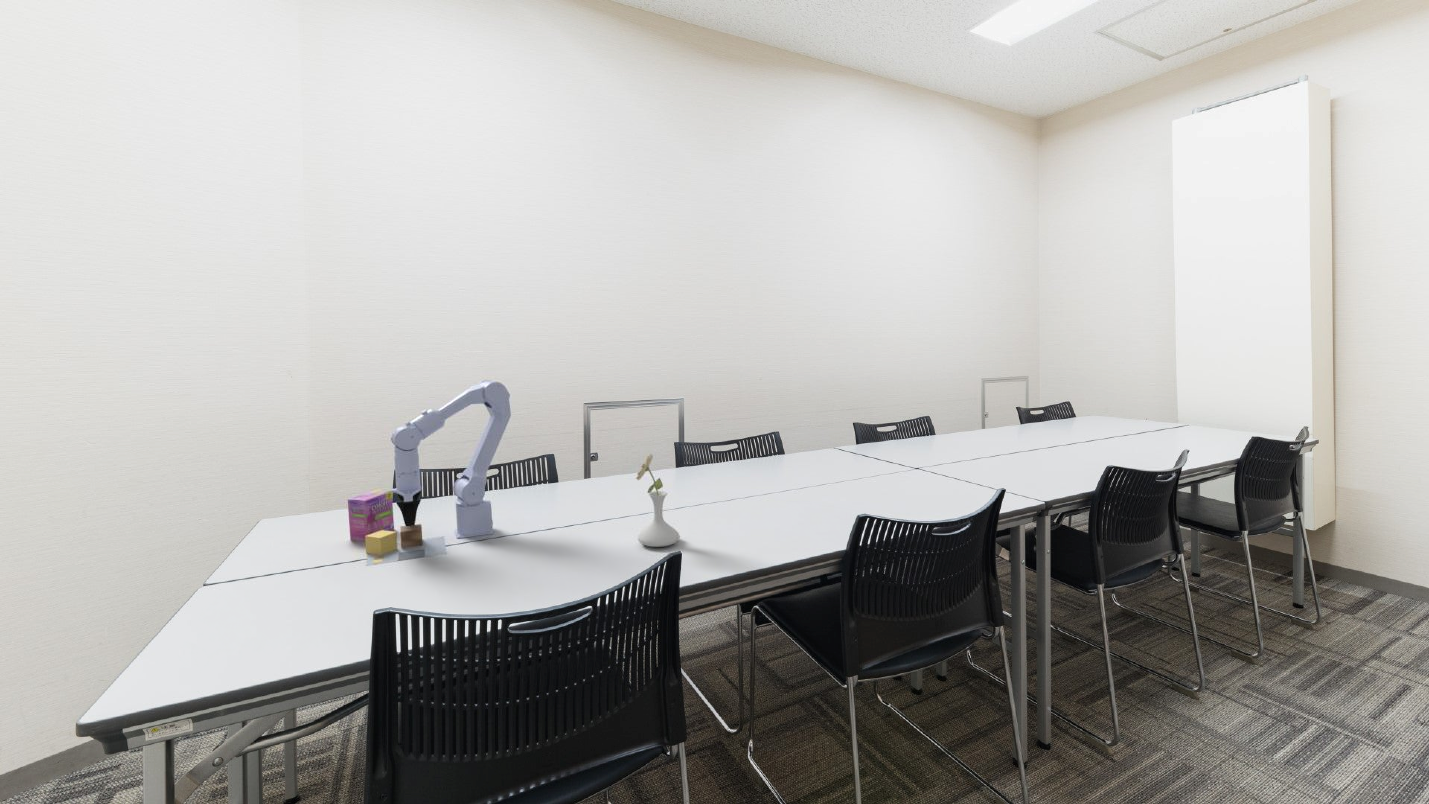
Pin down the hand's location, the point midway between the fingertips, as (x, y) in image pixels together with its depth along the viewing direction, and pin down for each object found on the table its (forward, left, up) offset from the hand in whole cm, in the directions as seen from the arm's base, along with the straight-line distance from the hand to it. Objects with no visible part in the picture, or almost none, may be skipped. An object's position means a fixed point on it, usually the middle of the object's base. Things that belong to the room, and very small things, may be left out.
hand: (410, 521), depth 159 cm
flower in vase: (-59, +30, -7) cm, 67 cm away
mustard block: (+7, +2, -6) cm, 10 cm away
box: (+10, -14, -7) cm, 18 cm away
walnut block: (0, 0, -6) cm, 6 cm away
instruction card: (+1, +4, -7) cm, 8 cm away
